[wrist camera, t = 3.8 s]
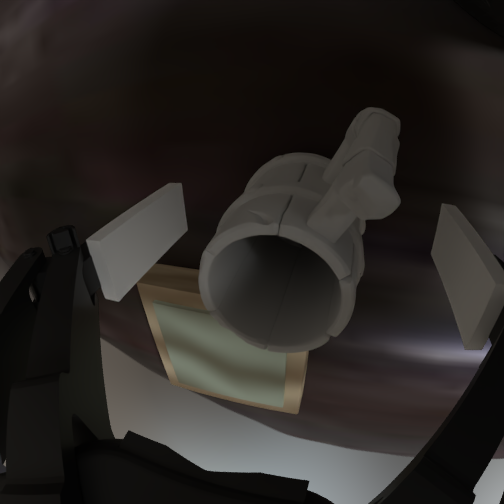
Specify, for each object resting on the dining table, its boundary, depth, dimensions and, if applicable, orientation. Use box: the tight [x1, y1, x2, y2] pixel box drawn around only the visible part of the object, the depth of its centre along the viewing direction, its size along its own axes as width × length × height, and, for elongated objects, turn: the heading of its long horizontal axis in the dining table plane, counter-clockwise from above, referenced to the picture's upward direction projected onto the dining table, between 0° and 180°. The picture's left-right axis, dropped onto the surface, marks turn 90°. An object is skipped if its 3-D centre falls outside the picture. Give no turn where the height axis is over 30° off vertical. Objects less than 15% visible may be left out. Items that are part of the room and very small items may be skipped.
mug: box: [198, 107, 401, 353], centre depth 14 cm, size 8×12×12 cm, turn 151°
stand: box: [137, 263, 309, 414], centre depth 27 cm, size 14×14×3 cm
